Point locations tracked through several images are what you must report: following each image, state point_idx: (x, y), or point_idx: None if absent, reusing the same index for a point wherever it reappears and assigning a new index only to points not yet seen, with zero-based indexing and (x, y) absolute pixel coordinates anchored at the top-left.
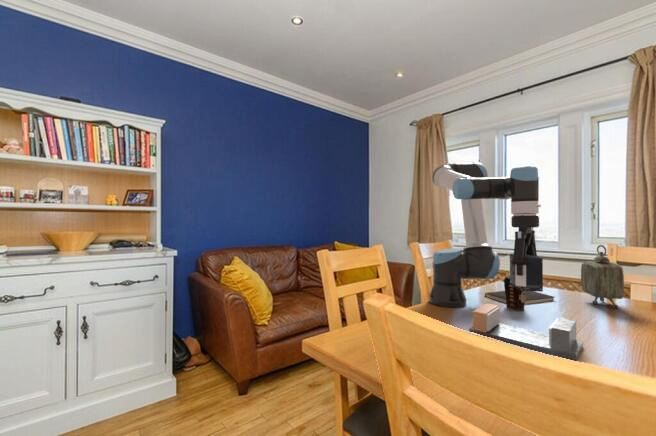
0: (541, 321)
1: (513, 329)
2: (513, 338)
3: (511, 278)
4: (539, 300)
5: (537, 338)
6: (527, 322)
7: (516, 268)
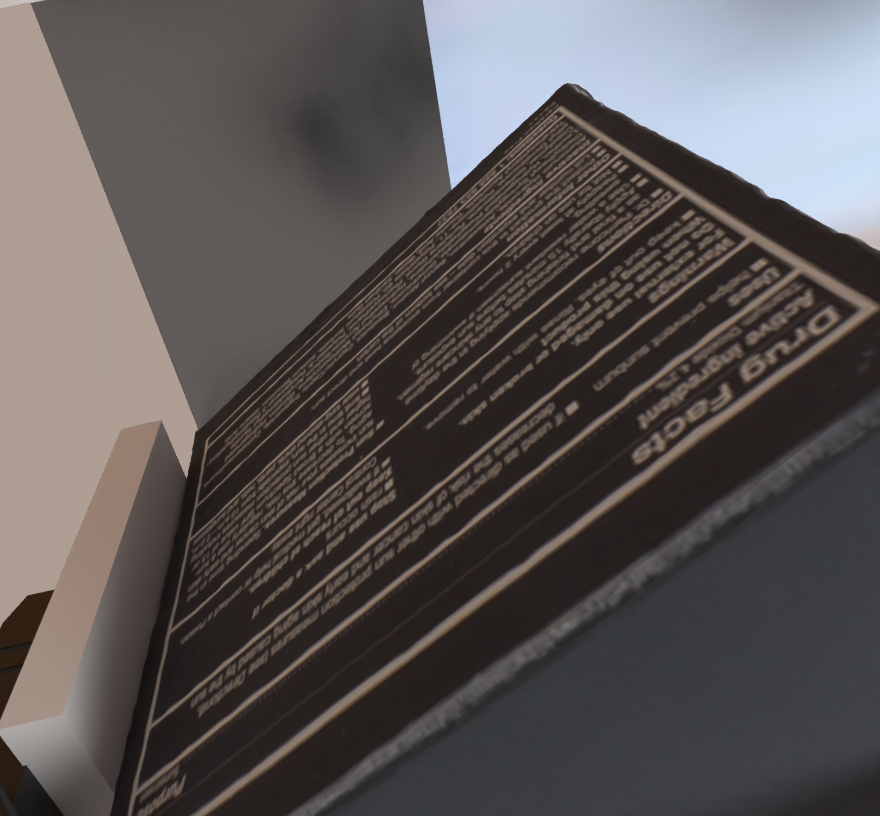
0: (867, 103)
1: (350, 108)
2: (143, 212)
3: (512, 188)
4: None
5: (312, 316)
6: (761, 32)
7: (44, 664)
